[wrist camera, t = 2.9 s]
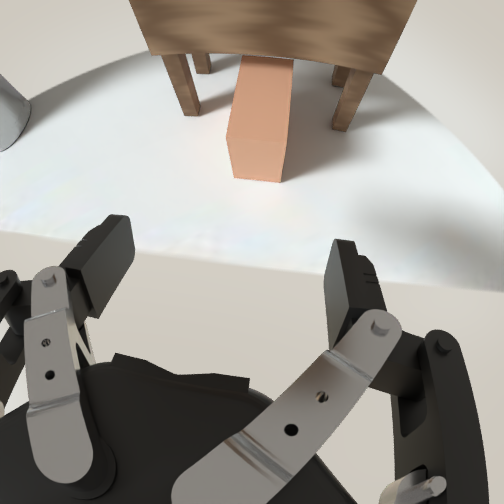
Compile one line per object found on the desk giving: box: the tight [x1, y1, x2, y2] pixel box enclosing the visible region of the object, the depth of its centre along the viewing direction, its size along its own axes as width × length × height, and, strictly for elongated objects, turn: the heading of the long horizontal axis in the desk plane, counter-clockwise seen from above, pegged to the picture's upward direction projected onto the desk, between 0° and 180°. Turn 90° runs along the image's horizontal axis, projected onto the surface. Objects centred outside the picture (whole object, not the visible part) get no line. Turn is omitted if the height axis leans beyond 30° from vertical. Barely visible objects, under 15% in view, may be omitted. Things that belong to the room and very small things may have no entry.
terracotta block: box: [226, 55, 294, 183], centre depth 26 cm, size 4×9×8 cm, turn 173°
